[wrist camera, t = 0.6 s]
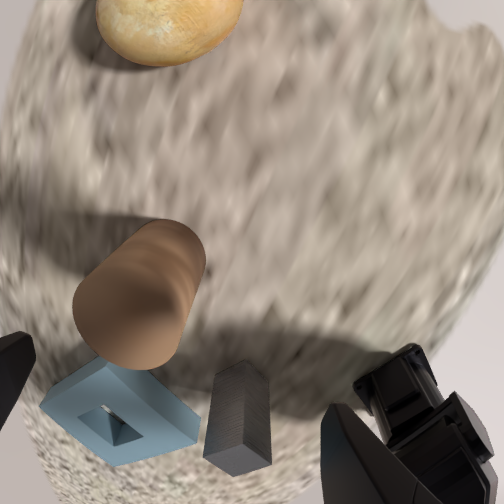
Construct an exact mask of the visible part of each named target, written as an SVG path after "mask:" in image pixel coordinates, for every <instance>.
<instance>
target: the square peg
mask: <svg viewBox="0 0 504 504" xmlns="http://www.w3.org/2000/svg"><path fill="white" fill-rule="evenodd" d="M203 458H205V459H206V460H208V461H209V462H211V463H212V464H214V465H215V466H217V467H218V468H220V469H221V470H223V471H224V472H226V473H228V474H229V475H231V476H233V477H235V476H238V475H242V474H245V473H248V472H251V471H255V470H258V469H261V468H264V467H267V466H270V465H272V453H271V428H270V404H269V382H268V381H267V380H266V379H265V378H264V377H263V376H262V375H261V374H260V373H259V372H258V371H257V370H256V369H255V368H254V367H253V366H252V365H251V364H250V363H249V361H248V360H247V359H245V360H243V361H241V362H240V363H238V364H236V365H234V366H232V367H230V368H228V369H226V370H224V371H222V372H220V373H218V374H216V375H215V379H214V385H213V392H212V398H211V405H210V411H209V418H208V425H207V431H206V438H205V445H204V452H203Z"/></svg>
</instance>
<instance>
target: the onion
mask: <svg viewBox="0 0 504 504" xmlns="http://www.w3.org/2000/svg"><path fill="white" fill-rule="evenodd" d="M243 1H244V0H97V2H96V22H97V26H98V29H99V32H100V34H101V36H102V38H103V39H104V41H105V42H106V43H107V44H108V45H109V46H110V47H111V48H112V49H113V50H114V51H115V52H117V53H118V54H119V55H121V56H122V57H124V58H126V59H128V60H130V61H132V62H135V63H138V64H142V65H148V66H162V67H166V66H175V65H180V64H184V63H187V62H189V61H192V60H194V59H196V58H198V57H200V56H203V55H204V54H207V53H209V52H211V51H212V50H213V49H214V48H215V47H217V46H218V45H219V44H220V43H221V42H222V41H223V40H224V39H225V38H226V37H227V36H228V35H229V34H230V33H231V32H232V30H233V29H234V27H235V25H236V23H237V21H238V19H239V16H240V14H241V10H242V6H243Z"/></svg>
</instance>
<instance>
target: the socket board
mask: <svg viewBox="0 0 504 504" xmlns="http://www.w3.org/2000/svg"><path fill="white" fill-rule="evenodd" d="M102 405H106V406H107V407H108V408H109V409H110V410H111V411H113V412H114V413H115V414H116V415H117V416H119V417H120V418H121V419H122V420H123V421H125V422H126V424H123V425H122V424H121V423H119V422H118V421H117V420H116V419H114V418H113V417H112V416H111V415H110V414H109V413H107V412H106V411H105V410H104V409H103V408H102V407H100V406H102ZM39 407H40V408H41V409H42V410H43V411H44V412H45V413H46V414H47V415H48V416H50V417H51V418H52V419H53V420H54V421H55V422H56V423H58V424H59V425H60V426H61V427H62V428H63V429H65V430H66V431H67V432H68V433H69V434H71V435H72V436H73V437H74V438H75V439H77V440H78V441H79V442H80V443H82V444H83V445H84V446H86V447H87V448H88V449H89V450H91V451H92V452H93V453H95V454H96V455H98V456H99V457H100V458H102V459H103V460H104V461H106V462H107V463H109V464H110V465H112V466H113V467H115V466H120V465H124V464H128V463H132V462H136V461H140V460H143V459H147V458H151V457H154V456H158V455H161V454H165V453H168V452H171V451H175V450H178V449H181V448H184V447H187V446H190V445H193V444H196V443H197V439H198V433H199V427H200V421H201V417H199V416H198V415H197V414H196V413H195V412H193V411H192V410H191V409H190V408H189V407H187V406H186V405H185V404H184V403H183V402H182V401H180V400H179V399H178V398H177V397H176V396H175V395H174V394H172V393H171V392H170V391H169V390H168V389H167V388H166V387H165V386H164V385H162V384H161V383H160V382H159V381H158V380H157V379H156V378H155V377H154V376H153V375H152V374H151V373H150V372H149V371H147V370H132V369H127V368H123V367H120V366H117V365H115V364H113V363H111V362H109V361H107V360H105V359H104V358H102V357H101V356H98V357H97V358H95V359H94V360H92V361H91V362H89V363H88V364H86V365H84V366H83V367H81V368H80V369H78V370H77V371H75V372H74V373H72V374H71V375H69V376H68V377H66V378H65V379H63V380H62V381H60V382H59V383H57V384H55V385H54V386H52V387H51V388H50V390H49V391H48V393H47V394H46V396H45V398H44V399H43V401H42V402H41V404H40V405H39Z"/></svg>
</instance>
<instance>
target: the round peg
mask: <svg viewBox="0 0 504 504" xmlns="http://www.w3.org/2000/svg"><path fill="white" fill-rule="evenodd" d="M205 265H206V256H205V251H204V248H203V245H202V243H201V241H200V239H199V238H198V236H197V235H196V234H195V233H194V232H193V231H192V230H191V229H190V228H188V227H187V226H185V225H184V224H182V223H180V222H177V221H173V220H167V219H160V220H154V221H151V222H149V223H147V224H145V225H144V226H142V227H141V228H140V229H139V230H138V231H136V232H135V233H134V234H133V235H132V236H131V237H130V238H128V239H127V240H126V241H125V242H124V243H123V244H122V245H121V246H119V247H118V248H117V249H116V250H115V251H114V252H113V253H112V254H111V255H109V256H108V257H107V258H106V259H105V260H104V261H103V262H102V263H101V264H100V265H99V266H98V267H96V268H95V269H94V270H93V271H92V272H91V273H90V274H89V275H88V276H87V277H86V278H85V279H84V280H83V281H82V282H81V283H80V284H79V286H78V287H77V289H76V291H75V294H74V297H73V305H72V308H73V316H74V321H75V324H76V326H77V329H78V331H79V333H80V334H81V336H82V338H83V339H84V340H85V342H86V343H87V344H88V345H89V346H90V348H91V349H92V350H94V351H95V352H96V353H97V354H98V355H99V356H101V357H102V358H104V359H105V360H107V361H109V362H111V363H113V364H115V365H117V366H120V367H123V368H127V369H132V370H148V369H153V368H156V367H159V366H161V365H163V364H164V363H166V362H167V361H168V360H169V359H170V358H171V357H172V356H173V355H174V353H175V352H176V350H177V347H178V344H179V341H180V338H181V336H182V333H183V330H184V327H185V324H186V321H187V318H188V315H189V312H190V309H191V307H192V304H193V301H194V298H195V295H196V292H197V290H198V287H199V284H200V281H201V278H202V276H203V273H204V270H205Z"/></svg>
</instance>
